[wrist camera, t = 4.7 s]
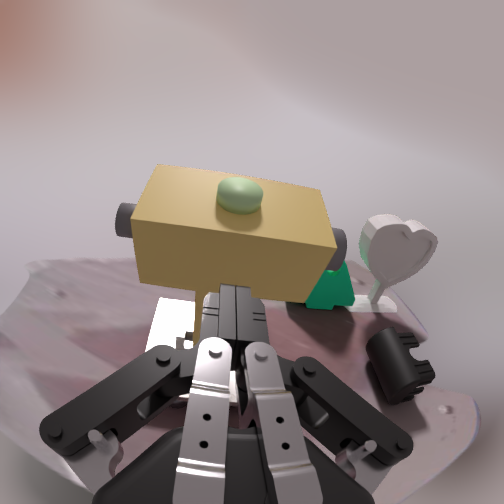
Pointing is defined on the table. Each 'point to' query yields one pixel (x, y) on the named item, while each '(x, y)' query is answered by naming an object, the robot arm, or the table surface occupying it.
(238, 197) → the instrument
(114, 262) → the table surface
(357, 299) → the heart sculpture
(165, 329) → the grey metal base plate
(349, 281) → the camera mount
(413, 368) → the end cap
